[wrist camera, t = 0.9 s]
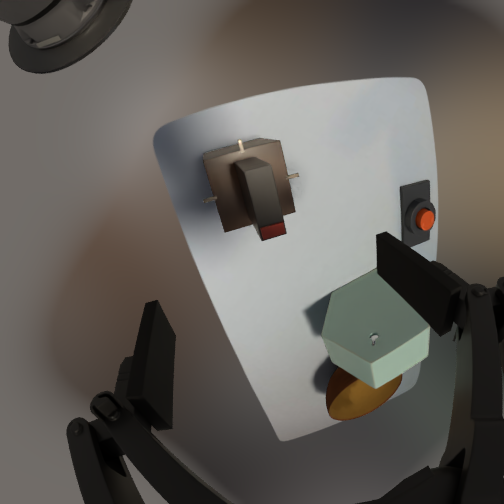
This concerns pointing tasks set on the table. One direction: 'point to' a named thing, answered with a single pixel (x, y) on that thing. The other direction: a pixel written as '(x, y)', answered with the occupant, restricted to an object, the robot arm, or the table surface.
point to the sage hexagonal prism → (373, 331)
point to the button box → (414, 211)
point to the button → (424, 219)
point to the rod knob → (261, 197)
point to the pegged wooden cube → (227, 180)
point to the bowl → (355, 395)
